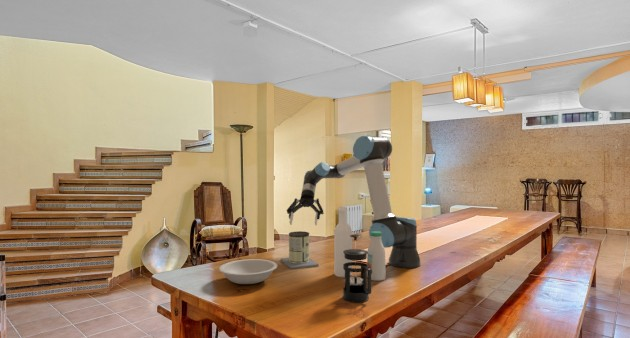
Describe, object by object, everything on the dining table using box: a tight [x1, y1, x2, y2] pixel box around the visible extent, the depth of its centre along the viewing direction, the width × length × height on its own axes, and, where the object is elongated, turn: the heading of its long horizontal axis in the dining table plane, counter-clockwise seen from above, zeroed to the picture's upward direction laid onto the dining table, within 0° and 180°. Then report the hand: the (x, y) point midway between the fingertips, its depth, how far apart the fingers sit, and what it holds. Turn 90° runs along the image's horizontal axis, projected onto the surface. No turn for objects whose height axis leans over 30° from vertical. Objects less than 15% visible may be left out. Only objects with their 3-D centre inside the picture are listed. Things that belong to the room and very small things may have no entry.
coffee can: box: [288, 231, 310, 264], centre depth 177 cm, size 10×10×14 cm
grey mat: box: [280, 257, 320, 270], centre depth 177 cm, size 18×14×1 cm
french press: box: [342, 234, 372, 304], centre depth 128 cm, size 12×9×23 cm
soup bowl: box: [218, 258, 278, 285], centre depth 148 cm, size 24×24×7 cm
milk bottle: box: [366, 231, 387, 282], centre depth 152 cm, size 8×8×20 cm
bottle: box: [333, 206, 353, 278], centre depth 157 cm, size 8×8×30 cm
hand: (303, 223), depth 187 cm, fingers open, 13 cm apart
